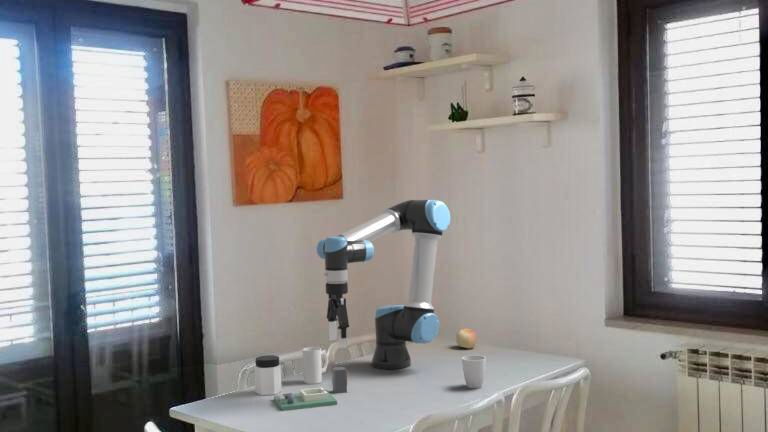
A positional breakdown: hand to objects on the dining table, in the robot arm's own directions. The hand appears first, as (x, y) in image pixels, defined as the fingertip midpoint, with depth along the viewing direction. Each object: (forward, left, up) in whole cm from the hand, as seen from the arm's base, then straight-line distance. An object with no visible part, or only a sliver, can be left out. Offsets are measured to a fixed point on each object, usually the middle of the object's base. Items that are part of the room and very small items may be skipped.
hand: (338, 343), depth 278 cm
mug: (+4, -17, -17) cm, 24 cm away
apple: (-68, -46, -17) cm, 84 cm away
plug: (0, 0, -16) cm, 17 cm away
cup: (-45, +12, -17) cm, 50 cm away
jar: (+23, -9, -17) cm, 30 cm away
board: (+14, +8, -16) cm, 23 cm away
